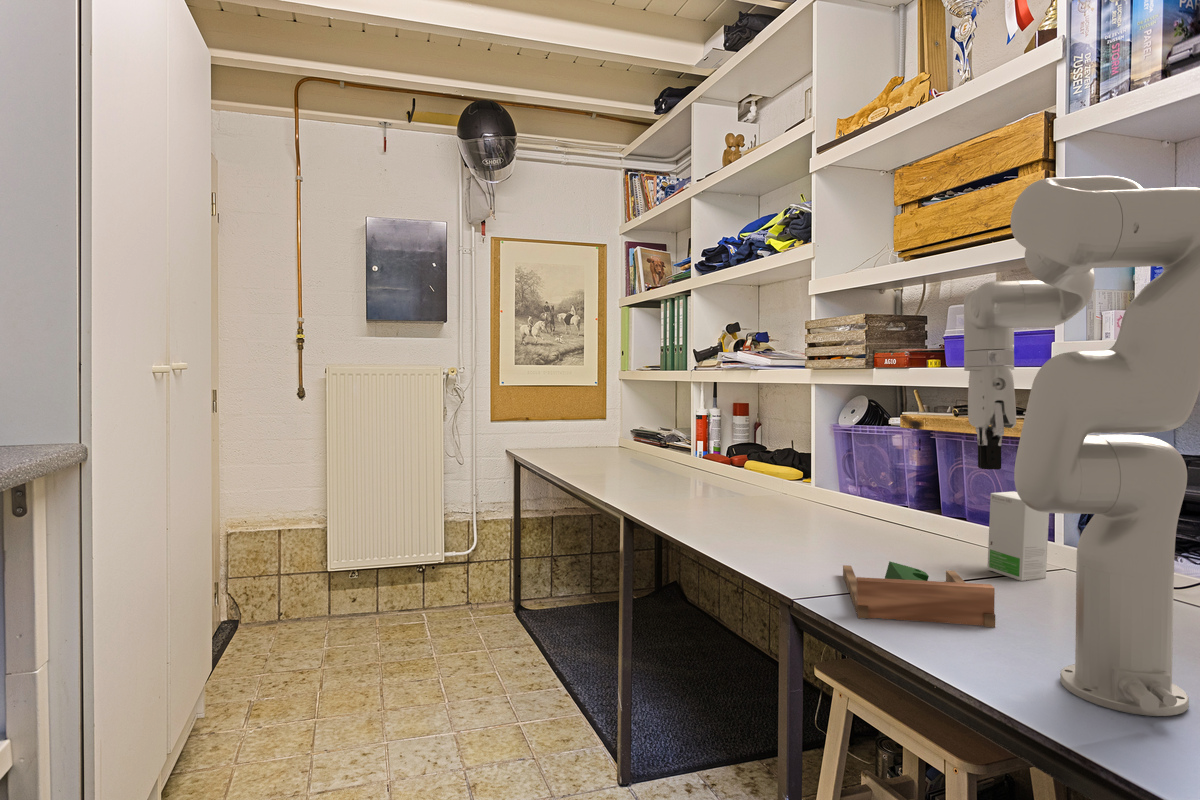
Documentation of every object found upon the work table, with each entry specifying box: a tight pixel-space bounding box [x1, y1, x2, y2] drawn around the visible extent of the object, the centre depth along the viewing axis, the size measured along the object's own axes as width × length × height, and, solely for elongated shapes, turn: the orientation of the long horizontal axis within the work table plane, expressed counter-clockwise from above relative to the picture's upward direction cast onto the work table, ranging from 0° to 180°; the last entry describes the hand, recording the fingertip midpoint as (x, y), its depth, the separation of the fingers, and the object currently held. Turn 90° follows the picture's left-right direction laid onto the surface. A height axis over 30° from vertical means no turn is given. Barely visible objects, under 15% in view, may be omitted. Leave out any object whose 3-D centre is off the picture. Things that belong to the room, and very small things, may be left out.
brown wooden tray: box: [842, 564, 996, 628], centre depth 124 cm, size 25×20×6 cm
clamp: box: [884, 561, 930, 581], centre depth 121 cm, size 12×6×9 cm, turn 162°
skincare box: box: [986, 491, 1050, 582], centre depth 137 cm, size 8×7×16 cm
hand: (989, 468), depth 121 cm, fingers closed
